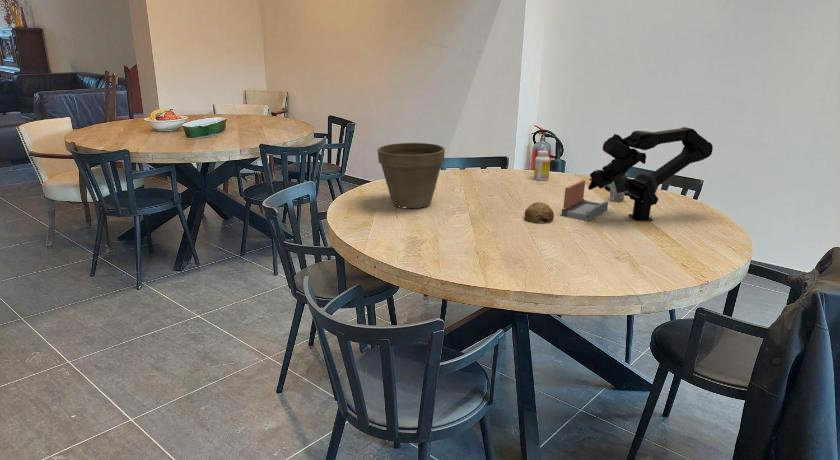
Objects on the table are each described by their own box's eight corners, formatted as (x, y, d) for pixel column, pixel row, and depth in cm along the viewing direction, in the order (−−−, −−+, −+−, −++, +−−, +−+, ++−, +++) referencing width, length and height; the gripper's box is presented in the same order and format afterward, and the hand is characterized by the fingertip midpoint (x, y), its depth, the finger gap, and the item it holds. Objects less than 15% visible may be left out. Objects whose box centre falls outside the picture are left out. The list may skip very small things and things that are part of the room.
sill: (587, 205, 213) (587, 199, 212) (566, 216, 199) (567, 210, 199) (581, 204, 214) (582, 198, 214) (561, 215, 201) (561, 208, 200)
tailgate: (583, 199, 212) (585, 180, 209) (566, 208, 201) (568, 188, 198) (579, 199, 213) (581, 180, 210) (562, 207, 201) (564, 187, 199)
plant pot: (369, 210, 205) (368, 152, 198) (389, 193, 227) (388, 140, 220) (435, 215, 199) (437, 156, 192) (448, 198, 222) (450, 143, 215)
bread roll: (528, 232, 194) (534, 216, 188) (518, 213, 201) (523, 196, 195) (554, 230, 196) (560, 213, 191) (542, 211, 203) (549, 194, 198)
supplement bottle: (550, 178, 255) (553, 151, 250) (545, 181, 249) (548, 153, 245) (536, 176, 258) (538, 149, 254) (531, 179, 253) (533, 151, 248)
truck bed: (607, 209, 208) (608, 201, 207) (588, 221, 195) (589, 212, 194) (586, 205, 213) (587, 197, 212) (566, 216, 200) (567, 208, 199)
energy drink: (621, 198, 223) (625, 169, 220) (624, 202, 218) (628, 172, 214) (607, 198, 224) (611, 168, 220) (610, 201, 219) (614, 171, 215)
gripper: (628, 186, 183) (592, 212, 193) (646, 176, 196) (612, 201, 206) (607, 160, 185) (573, 187, 195) (627, 152, 199) (593, 177, 209)
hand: (589, 188), depth 201 cm, fingers closed
